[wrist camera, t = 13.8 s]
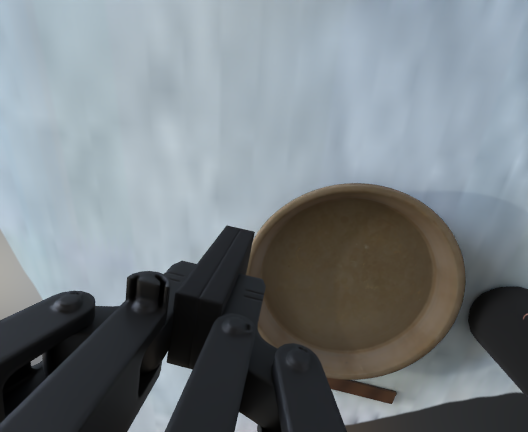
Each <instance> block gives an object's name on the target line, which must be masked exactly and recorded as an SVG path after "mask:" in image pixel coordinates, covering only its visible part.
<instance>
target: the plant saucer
mask: <svg viewBox="0 0 528 432" xmlns="http://www.w3.org/2000/svg"><path fill="white" fill-rule="evenodd" d="M246 275H248V276H252V277H256V278H260V279H263V281H264V283H265V286H266V288H265V293H264V298H263V302H262V307H261V311H260V316H259V321H258V332H259V334H260V335H261V337H262V338H263V339H264V340H265V341H266V342H267V343H269V344H270V345H272V346H274V347H276V348H279V347H280V346H282V345H284V344H289V343H295V344H300V345H303V346H305V347H307V348H309V349H310V350H311V351H313V352H314V353H315V354H316V355H317V357H318V358H319V360H320V362H321V364H322V367H323V369H324V372H325V375H326V377H327V378H333V379H342V380H358V379H368V378H374V377H379V376H383V375H386V374H390V373H393V372H396V371H398V370H400V369H403V368H405V367H407V366H409V365H411V364H413V363H414V362H416V361H417V360H419V359H421V358H422V357H423V356H425V355H426V354H427V353H429V352H430V351H431V350H432V349H433V348H434V347H435V346H436V345H437V344H438V343H439V342H440V341H441V340H442V339H443V338H444V337H445V336H446V334H447V333H448V331H449V330H450V328H451V327H452V325H453V324H454V322H455V320H456V318H457V315H458V313H459V310H460V308H461V305H462V302H463V297H464V292H465V282H466V281H465V266H464V261H463V257H462V253H461V250H460V248H459V245H458V243H457V241H456V239H455V237H454V235H453V233H452V232H451V230H450V229H449V227H448V226H447V225H446V224H445V222H444V221H443V220H442V219H441V218H440V217H439V216H438V215H437V214H436V213H435V212H434V211H433V210H432V209H430V208H429V207H428V206H426V205H425V204H424V203H422V202H420V201H419V200H417V199H415V198H413V197H412V196H410V195H408V194H405V193H403V192H400V191H397V190H394V189H392V188H388V187H384V186H379V185H373V184H361V183H351V184H339V185H333V186H328V187H324V188H320V189H317V190H314V191H311V192H309V193H306V194H304V195H302V196H300V197H298V198H296V199H294V200H293V201H291V202H289V203H288V204H286V205H285V206H283V207H282V208H281V209H279V210H278V211H277V212H276V213H275V214H273V215H272V216H271V217H270V218H269V219H268V220H267V221H266V223H265V224H264V225H263V226H262V227H261V229H260V230H259V231H258V233H257V235H256V236H255V238H254V240H253V243H252V248H251V253H250V258H249V263H248V268H247V273H246Z"/></svg>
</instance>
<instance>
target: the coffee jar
mask: <svg viewBox="0 0 528 432" xmlns="http://www.w3.org/2000/svg"><path fill="white" fill-rule="evenodd" d="M468 322H469V326H470V331H471V333H472V334H473V336H474V337H475V338H476V340H477V341H478V342H479V343H480V344H481V345H482V347H483V348H484V349H485V350H486V351H487V352H488V353H489V354H490V356H491V357H492V358H493V359H494V360H495V361H496V362H497V364H498V365H499V366H500V367H501V368H502V369H503V370H504V371H505V373H506V374H507V375H508V376H509V377H510V378H511V379H512V381H513V382H514V383H515V384H516V385H517V386H518V387H519V388H520V390H521V391H522V392H523V393H524V394H525V395H526V396H527V397H528V289H525V288H522V287H510V286H506V287H499V288H494V289H491V290H489V291H487V292H485V293H483V294H482V295H481V296H480V297H478V298H477V299H476V300H475V301H474V303H473V305H472V307H471V308H470V313H469V319H468Z"/></svg>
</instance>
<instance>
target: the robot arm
mask: <svg viewBox="0 0 528 432" xmlns="http://www.w3.org/2000/svg"><path fill="white" fill-rule="evenodd" d="M254 233H255V232H253V231H248V230H244V229H240V228H235V227H231V226H226V227H225V228H224V230H223V231H222V232H221V234H220V235H219V236H218V238H217V239H216V240H215V241H214V243H213V244H212V245H211V247H210V248H209V249H208V251H207V252H206V253H205V254H204V256H203V257H202V258H201V260H200V261H199V262H198V264H194V263H190V262H185V261H181V262H178V263H176V264H174V265H172V266H171V267H170V268H169V269H168V270H167V272H166V273H165V274H162V273H159V272H153V271H144V272H138V273H134V274H132V275H130V276H129V277H127V288H126V301H125V302H124V303H123V304H122V305H121V306H114V307H110V306H95V299H94V297H93V296H92V295H91V294H89V293H86V292H83V291H69V292H63V293H60V294H57V295H54V296H51V297H49V298H47V299H45V300H43V301H41V302H39V303H36V304H34V305H32V306H30V307H28V308H26V309H24V310H22V311H19V312H17V313H15V314H13V315H11V316H9V317H7V318H4V319H2V320H0V432H127V431H128V429H129V428H130V426H131V424H132V422H133V421H134V419H135V417H136V415H137V414H138V412H139V410H140V408H141V407H142V405H143V403H144V401H145V400H146V398H147V396H148V394H149V393H150V391H151V389H152V387H153V386H154V384H155V382H156V380H157V379H158V377H159V374H160V371H161V365H162V360H163V358H164V357H165V355H166V353H167V352H168V356H167V363H170V364H174V365H178V366H182V367H185V368H189V369H193V370H192V372H191V375H190V377H189V379H188V381H187V383H186V386H185V388H184V390H183V392H182V395H181V397H180V399H179V401H178V403H177V406H176V408H175V410H174V412H173V414H172V417H171V419H170V421H169V423H168V426H167V428H166V430H165V432H234V431H235V426H236V422H237V417H238V413H239V412H240V413H242V414H243V415H245V416H246V417H248V418H249V419H251V420H252V421H254V422H255V423H257V424H258V426H257V431H258V432H347V431H346V428H345V425H344V423H343V420H342V417H341V415H340V412H339V409H338V407H337V404H336V401H335V399H334V396H333V393H332V391H331V388H330V385H329V383H328V380H327V377H326V375H325V372H324V369H323V367H322V364H321V362H320V360H319V358H318V357H317V355H316V354H315V353H314V352H313V351H311V350H310V349H309V348H307V347H305V346H303V345H300V344H295V343H289V344H284V345H282V346H280V347H279V348H276V347H274V346H272V345H270V344H269V343H267V342H266V341H265V340H264V339H263V338H262V337H261V335H260V334H259V332H258V321H259V316H260V311H261V307H262V302H263V298H264V293H265V288H266V286H265V283H264V281H263V279H260V278H256V277H252V276H248V275H246V273H247V268H248V263H249V258H250V253H251V248H252V243H253V238H254ZM40 355H42V357H43V358H42V359H43V361H41V362H40V363H38V364H36V365H34V366H31V361H32V360H34V359H35V358H37V357H38V356H40Z"/></svg>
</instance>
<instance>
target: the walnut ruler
mask: <svg viewBox="0 0 528 432" xmlns="http://www.w3.org/2000/svg"><path fill="white" fill-rule="evenodd" d="M327 380H328V383H329V385H330V388H331V389H334V390H338V391H342V392H346V393H350V394H354V395H358V396H362V397H366V398H370V399H374V400H377V401H381V402H385V403H389V404H392V403H393V400H394V398H395V396H396V394H397V393H396V391H392V390H388V389H384V388H380V387H376V386H372V385H368V384H364V383H360V382H356V381H352V380H342V379H333V378H327Z"/></svg>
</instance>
